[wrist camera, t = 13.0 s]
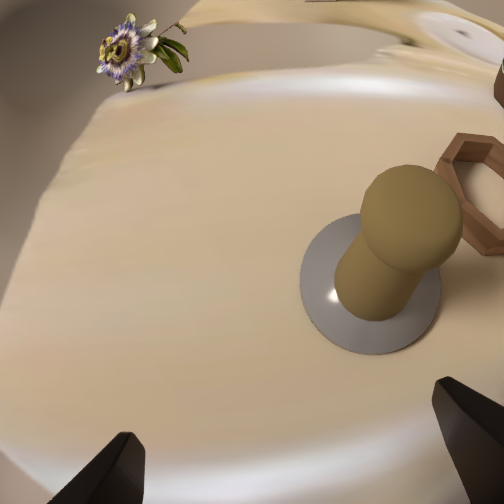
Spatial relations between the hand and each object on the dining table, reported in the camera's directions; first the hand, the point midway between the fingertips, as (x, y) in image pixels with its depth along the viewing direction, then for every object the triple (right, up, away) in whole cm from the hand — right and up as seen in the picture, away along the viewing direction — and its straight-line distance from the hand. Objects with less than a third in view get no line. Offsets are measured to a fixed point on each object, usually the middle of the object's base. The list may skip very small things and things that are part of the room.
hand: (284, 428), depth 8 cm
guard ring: (+21, +10, +16) cm, 28 cm away
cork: (+8, +3, +15) cm, 17 cm away
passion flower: (-16, +30, +31) cm, 46 cm away
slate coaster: (+8, +3, +15) cm, 17 cm away
